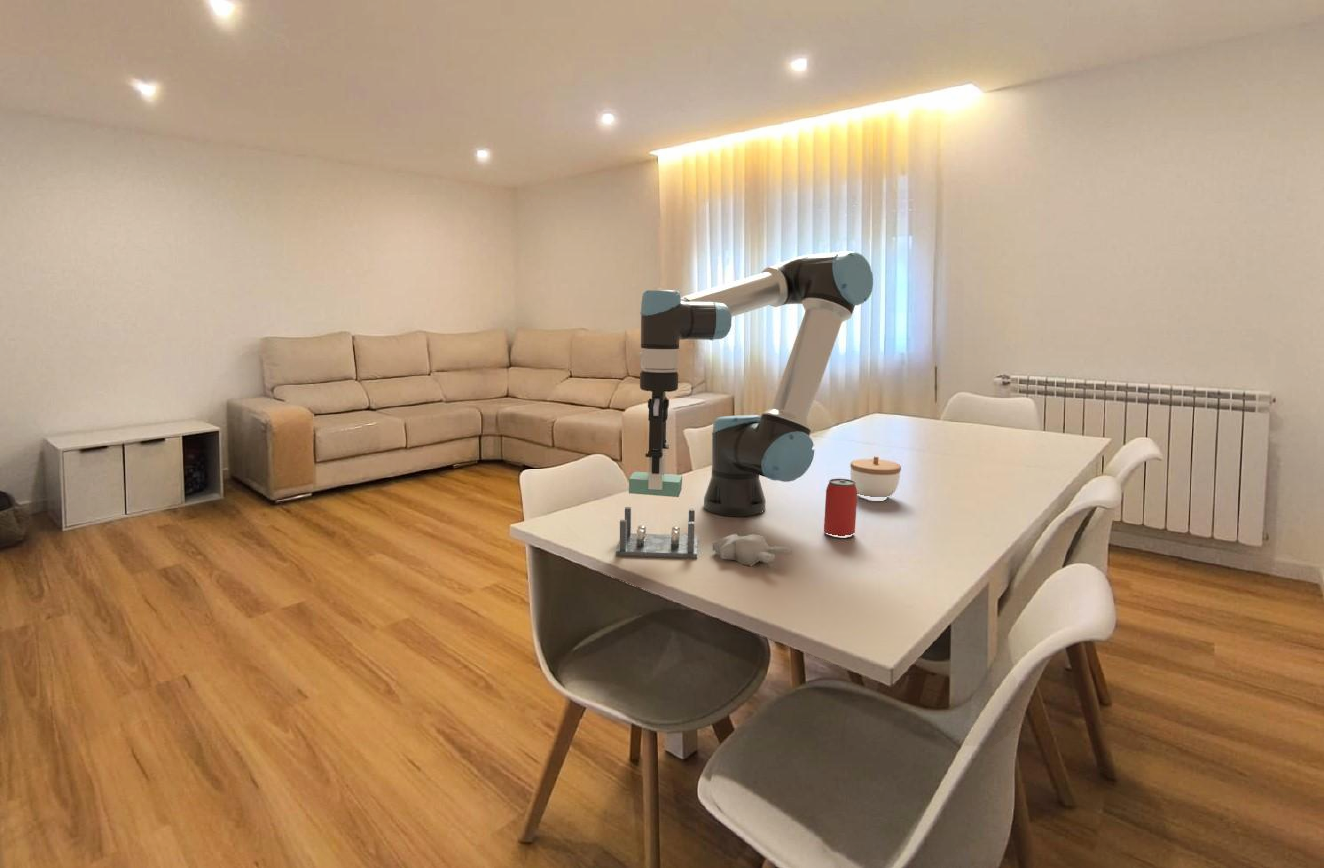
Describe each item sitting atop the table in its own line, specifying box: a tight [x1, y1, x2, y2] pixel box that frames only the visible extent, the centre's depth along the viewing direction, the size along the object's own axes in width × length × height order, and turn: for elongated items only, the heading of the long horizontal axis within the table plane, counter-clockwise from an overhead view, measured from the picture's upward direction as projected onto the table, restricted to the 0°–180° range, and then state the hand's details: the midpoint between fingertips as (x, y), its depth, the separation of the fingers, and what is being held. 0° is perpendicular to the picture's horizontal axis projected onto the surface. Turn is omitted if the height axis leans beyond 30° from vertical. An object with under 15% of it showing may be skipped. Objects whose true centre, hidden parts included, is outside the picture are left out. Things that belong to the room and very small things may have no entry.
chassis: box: [615, 506, 698, 560], centre depth 138 cm, size 16×11×7 cm
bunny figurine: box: [711, 533, 792, 566], centre depth 132 cm, size 10×5×15 cm
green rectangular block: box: [628, 471, 683, 498], centre depth 137 cm, size 10×6×3 cm, turn 83°
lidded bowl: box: [849, 455, 902, 497], centre depth 177 cm, size 13×13×11 cm
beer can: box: [823, 477, 858, 536], centre depth 148 cm, size 7×7×12 cm
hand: (656, 484), depth 137 cm, fingers closed on green rectangular block, 6 cm apart
